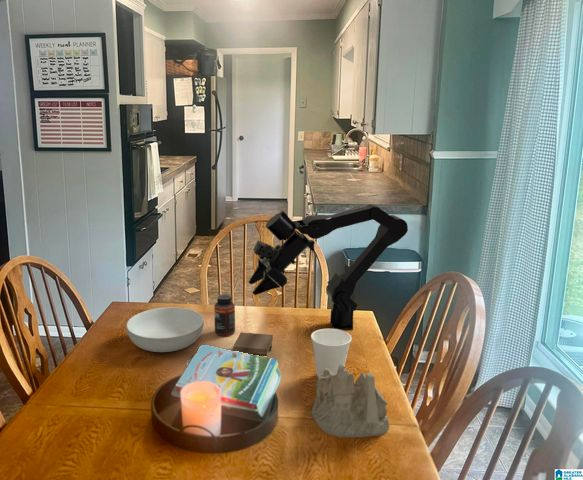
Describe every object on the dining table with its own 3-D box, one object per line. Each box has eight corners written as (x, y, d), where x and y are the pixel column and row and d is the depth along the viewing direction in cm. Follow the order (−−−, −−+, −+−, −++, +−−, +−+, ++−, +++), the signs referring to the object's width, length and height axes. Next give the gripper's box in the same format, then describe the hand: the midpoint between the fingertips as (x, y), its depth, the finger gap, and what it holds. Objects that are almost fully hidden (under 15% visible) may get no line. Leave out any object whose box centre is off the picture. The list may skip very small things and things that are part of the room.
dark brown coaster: (272, 348, 144) (272, 334, 143) (266, 363, 135) (267, 349, 134) (240, 345, 145) (240, 332, 144) (233, 360, 136) (232, 346, 135)
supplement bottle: (236, 329, 156) (236, 293, 153) (232, 337, 150) (232, 300, 147) (217, 328, 156) (216, 292, 153) (212, 336, 150) (211, 299, 148)
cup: (354, 373, 131) (357, 333, 129) (341, 391, 123) (343, 349, 120) (318, 364, 135) (319, 325, 133) (302, 382, 127) (304, 340, 124)
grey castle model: (393, 438, 105) (395, 369, 103) (312, 439, 106) (311, 369, 103) (381, 401, 121) (382, 339, 118) (310, 401, 121) (310, 340, 118)
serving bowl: (111, 352, 139) (109, 328, 138) (158, 323, 158) (157, 302, 157) (176, 368, 132) (175, 343, 130) (218, 336, 151) (218, 314, 149)
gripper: (265, 224, 157) (229, 261, 158) (276, 240, 139) (235, 281, 140) (290, 249, 161) (254, 284, 161) (304, 267, 143) (263, 307, 143)
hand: (251, 288), depth 151 cm, fingers open, 9 cm apart
